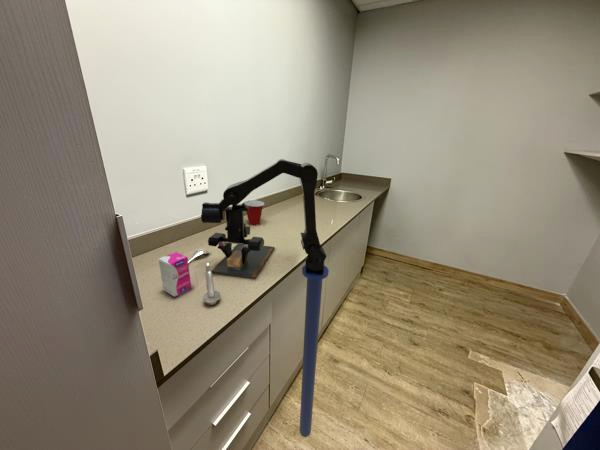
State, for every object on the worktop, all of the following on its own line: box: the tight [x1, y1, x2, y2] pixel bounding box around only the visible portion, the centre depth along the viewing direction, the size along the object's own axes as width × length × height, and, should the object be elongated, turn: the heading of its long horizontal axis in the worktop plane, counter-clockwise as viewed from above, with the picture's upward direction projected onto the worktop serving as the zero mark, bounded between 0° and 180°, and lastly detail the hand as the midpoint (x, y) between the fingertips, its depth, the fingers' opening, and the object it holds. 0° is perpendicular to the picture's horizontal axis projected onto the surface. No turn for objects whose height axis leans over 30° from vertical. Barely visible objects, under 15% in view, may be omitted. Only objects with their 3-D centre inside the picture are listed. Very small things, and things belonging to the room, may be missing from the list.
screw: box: [201, 262, 221, 306], centre depth 68 cm, size 13×5×5 cm
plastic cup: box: [244, 199, 265, 226], centre depth 131 cm, size 11×11×12 cm
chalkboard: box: [211, 244, 275, 280], centre depth 94 cm, size 16×24×1 cm, turn 170°
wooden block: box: [227, 251, 247, 271], centre depth 87 cm, size 4×7×4 cm, turn 170°
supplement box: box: [158, 251, 192, 299], centre depth 73 cm, size 6×6×12 cm
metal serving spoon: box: [188, 248, 210, 264], centre depth 89 cm, size 20×4×5 cm
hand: (237, 262), depth 88 cm, fingers closed on wooden block, 4 cm apart
